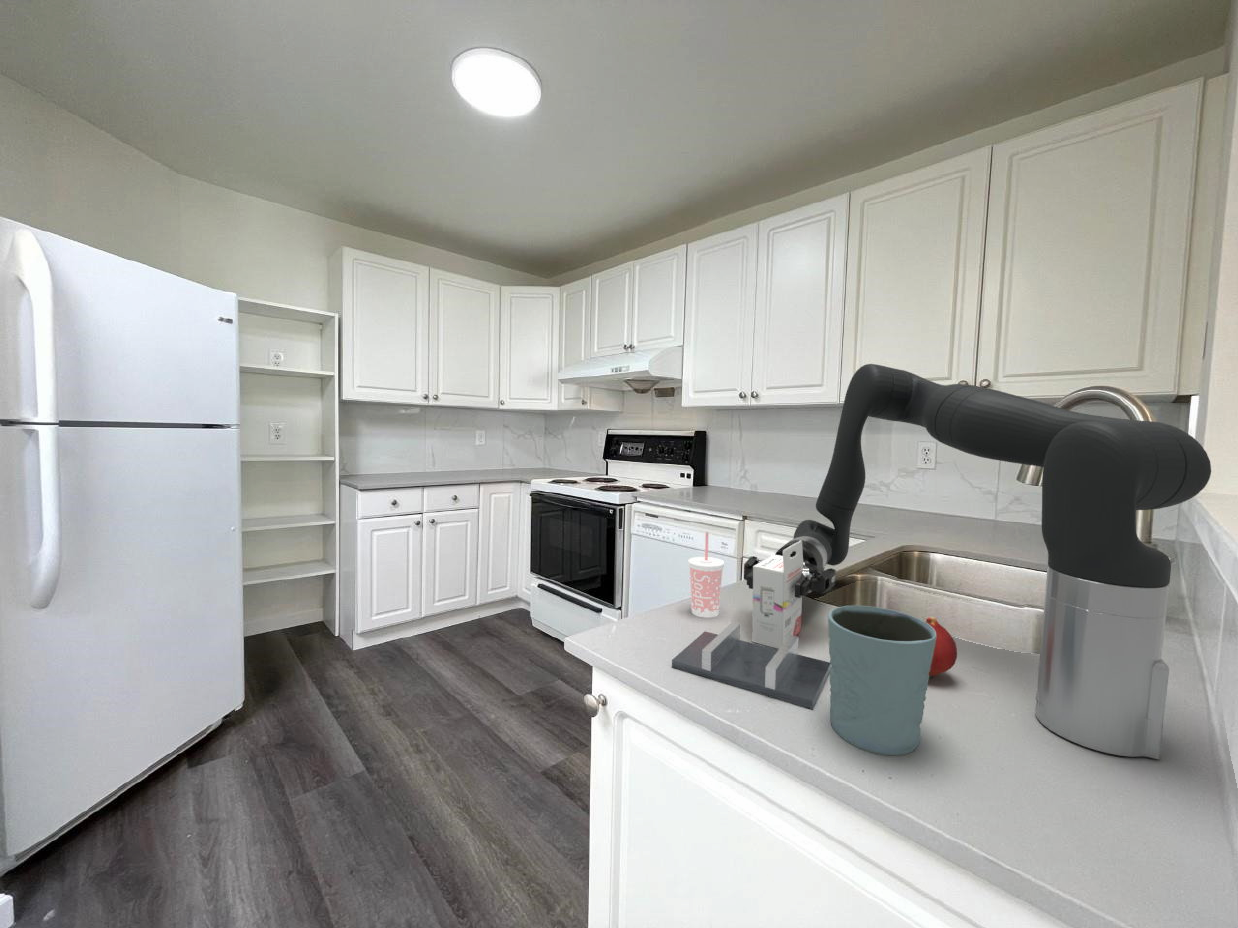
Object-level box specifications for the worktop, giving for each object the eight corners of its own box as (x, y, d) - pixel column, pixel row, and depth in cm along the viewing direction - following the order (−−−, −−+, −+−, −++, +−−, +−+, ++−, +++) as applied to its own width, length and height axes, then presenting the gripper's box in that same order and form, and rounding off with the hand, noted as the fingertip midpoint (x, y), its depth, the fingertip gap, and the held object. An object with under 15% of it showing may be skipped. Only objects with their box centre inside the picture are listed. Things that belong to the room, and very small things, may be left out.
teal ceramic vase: (806, 725, 55) (811, 619, 54) (848, 693, 62) (853, 597, 61) (907, 775, 48) (915, 652, 47) (943, 731, 54) (950, 623, 53)
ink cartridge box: (770, 623, 83) (773, 535, 81) (801, 631, 80) (805, 539, 78) (749, 641, 76) (752, 545, 75) (782, 651, 73) (786, 550, 72)
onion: (906, 660, 70) (909, 604, 70) (955, 673, 67) (960, 614, 66) (900, 678, 66) (904, 618, 65) (954, 692, 62) (958, 629, 62)
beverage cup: (679, 611, 88) (681, 531, 87) (703, 603, 92) (705, 527, 90) (706, 622, 83) (708, 538, 82) (730, 613, 87) (733, 533, 86)
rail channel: (830, 669, 68) (831, 644, 67) (812, 709, 58) (813, 680, 58) (704, 637, 77) (705, 615, 77) (671, 666, 68) (672, 641, 68)
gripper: (761, 534, 93) (727, 554, 79) (846, 545, 85) (826, 570, 71) (759, 574, 93) (726, 601, 79) (844, 589, 86) (824, 622, 72)
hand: (773, 586), depth 75 cm, fingers open, 6 cm apart
